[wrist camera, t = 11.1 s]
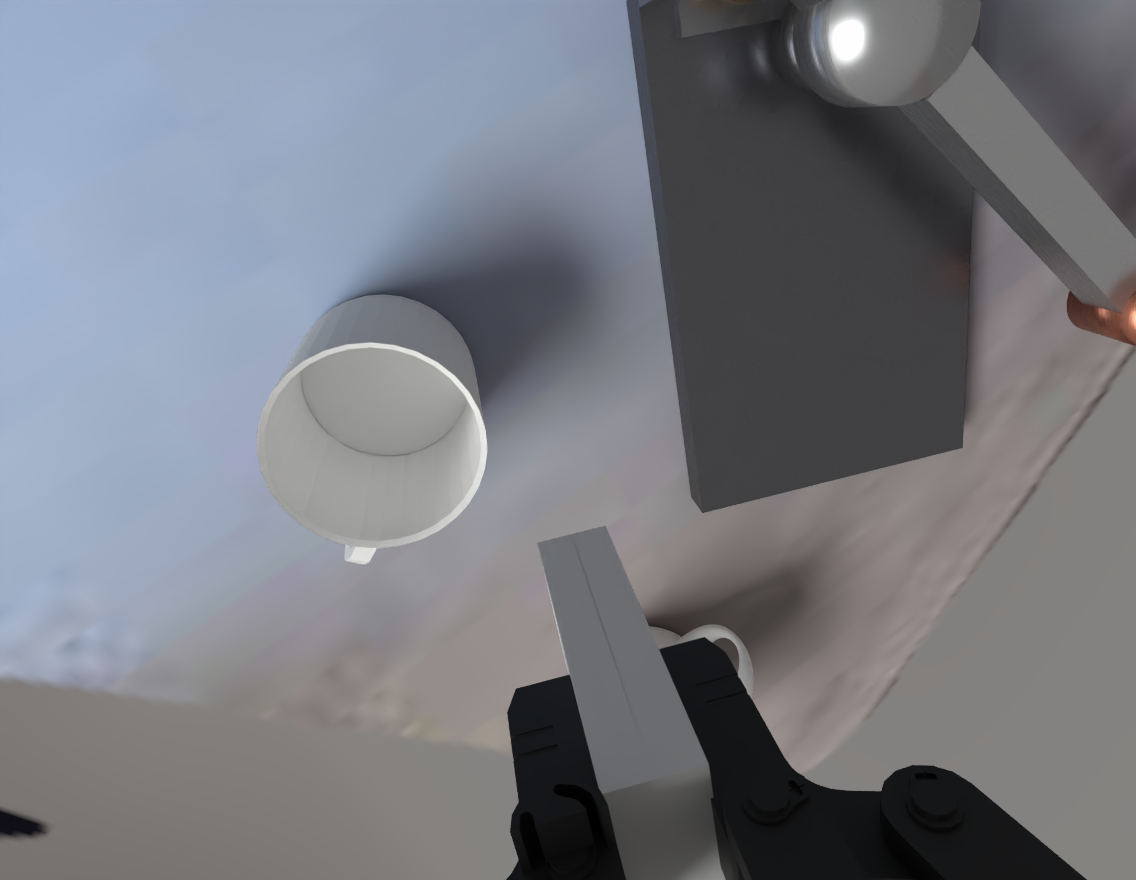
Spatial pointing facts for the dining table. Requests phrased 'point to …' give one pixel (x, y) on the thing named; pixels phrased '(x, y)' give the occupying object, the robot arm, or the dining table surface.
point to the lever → (975, 137)
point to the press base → (796, 259)
